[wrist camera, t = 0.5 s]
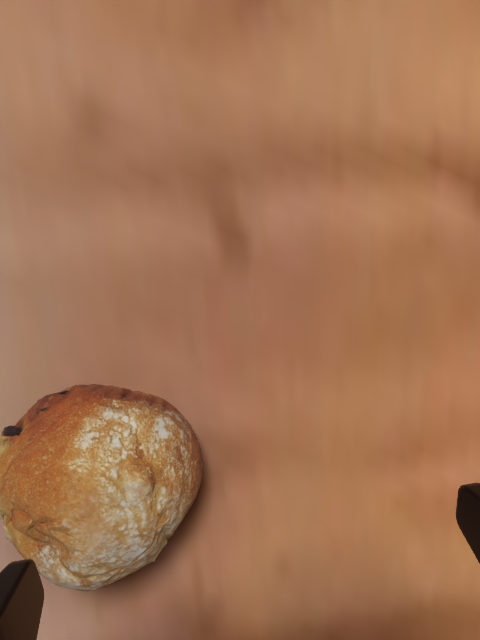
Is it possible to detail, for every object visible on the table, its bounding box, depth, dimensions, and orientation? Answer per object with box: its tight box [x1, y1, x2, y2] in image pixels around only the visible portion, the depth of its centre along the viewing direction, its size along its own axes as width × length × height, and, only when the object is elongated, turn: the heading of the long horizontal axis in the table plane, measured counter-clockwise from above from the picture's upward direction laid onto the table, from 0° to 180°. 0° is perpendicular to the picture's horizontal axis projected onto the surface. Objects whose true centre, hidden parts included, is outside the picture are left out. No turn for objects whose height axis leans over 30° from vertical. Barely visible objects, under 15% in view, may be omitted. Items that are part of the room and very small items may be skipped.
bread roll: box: [0, 384, 203, 591], centre depth 21 cm, size 10×10×8 cm
